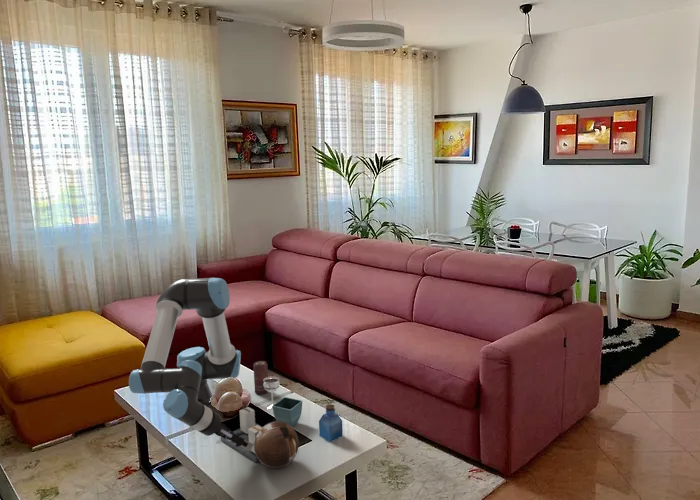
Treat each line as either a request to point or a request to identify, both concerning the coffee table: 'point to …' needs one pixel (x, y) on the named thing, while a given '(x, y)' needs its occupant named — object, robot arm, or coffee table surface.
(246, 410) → the block
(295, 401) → the flower pot
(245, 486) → the coffee table surface
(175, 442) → the coffee table surface
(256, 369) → the can
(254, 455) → the plate
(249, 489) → the coffee table surface
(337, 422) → the perfume bottle
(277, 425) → the wooden sphere
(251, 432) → the front fader
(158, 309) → the robot arm
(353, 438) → the coffee table surface
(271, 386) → the wineglass
